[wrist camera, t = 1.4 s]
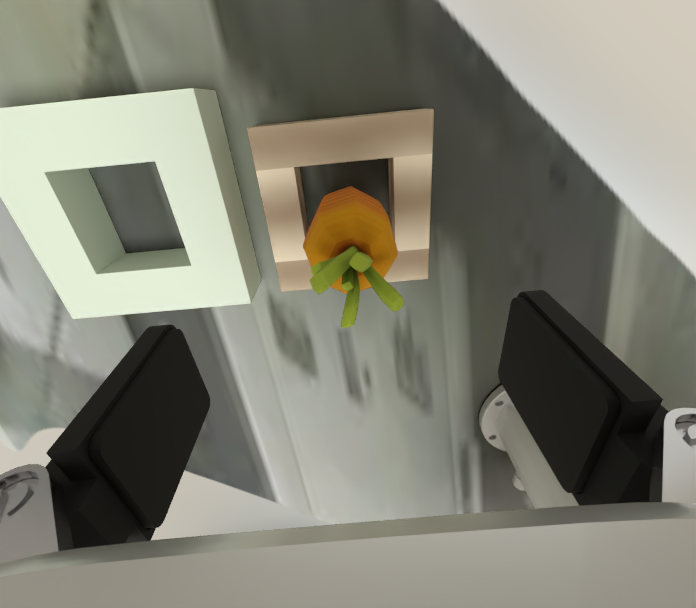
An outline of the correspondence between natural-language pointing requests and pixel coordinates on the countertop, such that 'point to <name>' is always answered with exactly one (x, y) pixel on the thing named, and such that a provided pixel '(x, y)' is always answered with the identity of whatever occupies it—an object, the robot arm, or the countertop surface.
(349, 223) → the carrot
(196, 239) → the pale green square frame
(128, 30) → the countertop surface
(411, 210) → the socket block
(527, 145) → the countertop surface
